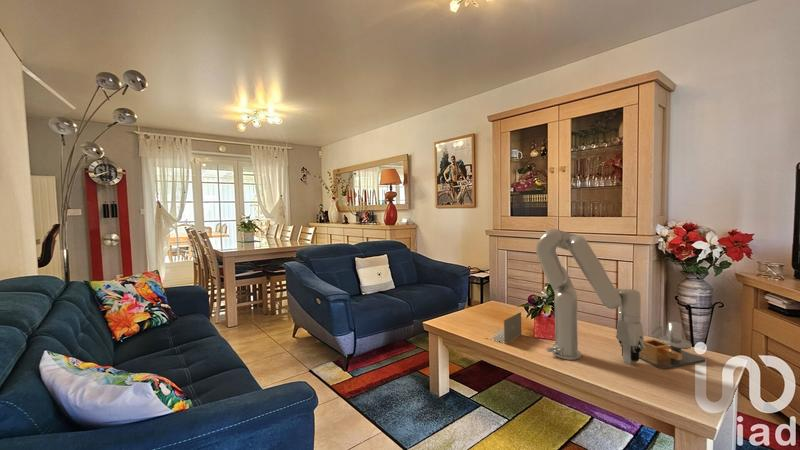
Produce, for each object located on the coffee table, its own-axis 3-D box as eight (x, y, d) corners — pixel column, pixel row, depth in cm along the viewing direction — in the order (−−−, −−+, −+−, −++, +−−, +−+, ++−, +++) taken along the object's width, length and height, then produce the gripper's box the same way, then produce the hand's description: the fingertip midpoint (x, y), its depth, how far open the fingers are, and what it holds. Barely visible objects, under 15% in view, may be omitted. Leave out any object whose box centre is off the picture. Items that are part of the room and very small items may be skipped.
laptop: (501, 329, 202) (501, 307, 201) (521, 335, 193) (521, 312, 192) (484, 338, 189) (483, 315, 189) (505, 345, 180) (504, 320, 180)
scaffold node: (666, 371, 146) (666, 336, 145) (625, 352, 165) (625, 321, 164) (710, 363, 151) (710, 329, 151) (665, 345, 171) (665, 315, 170)
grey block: (630, 365, 152) (630, 345, 152) (622, 361, 156) (622, 342, 156) (637, 364, 153) (637, 344, 153) (630, 360, 157) (629, 340, 157)
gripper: (607, 313, 161) (607, 351, 162) (640, 325, 145) (640, 367, 146) (620, 311, 163) (621, 349, 164) (655, 322, 146) (654, 365, 147)
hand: (630, 357), depth 155 cm, fingers open, 4 cm apart
